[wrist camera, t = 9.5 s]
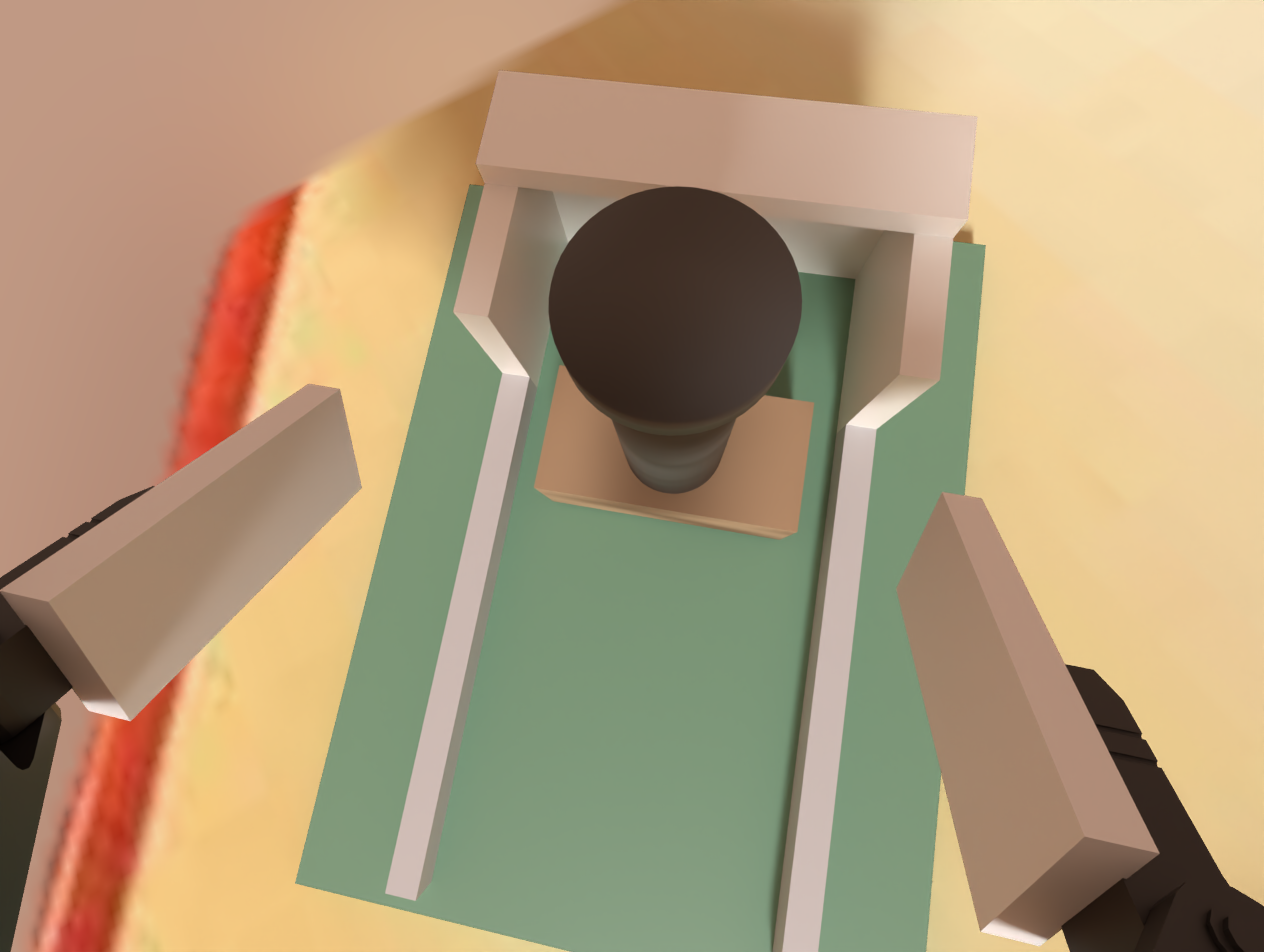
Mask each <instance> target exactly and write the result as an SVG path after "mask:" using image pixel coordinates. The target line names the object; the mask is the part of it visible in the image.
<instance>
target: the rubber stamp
mask: <svg viewBox="0 0 1264 952" xmlns="http://www.w3.org/2000/svg"><path fill="white" fill-rule="evenodd" d="M801 313H802V291H801V283H800V278H799V274H798V270H797V267H796V265H795V262H794V259H793V257H792V255H791V253H790V251H789V249H788V247H787V245H786V244H785V242H784V241H783V239H782V238H781V236H780V235H779V234H778V232H777V231H776V230H775V229H774V228H773V227H772V226H771V225H770V224H769V223H768V222H767V221H766V220H765V219H764V218H763V217H762V216H761V215H759V214H758V213H757V212H756V211H754V210H753V209H752V208H750V207H748V206H747V205H745V204H743V203H742V202H740V201H738V200H736V199H733V198H731V197H729V196H727V195H724V194H721V193H718V192H714V191H711V190H707V189H701V188H695V187H681V186H674V187H660V188H655V189H649V190H645V191H641V192H638V193H635V194H632V195H629V196H627V197H624V198H622V199H620V200H618V201H615V202H614V203H612V204H610V205H609V206H607V207H605V208H603V209H602V210H601V211H599V212H598V213H597V214H595V215H594V216H593V217H591V218H590V219H589V220H588V221H587V222H586V223H585V224H584V225H583V226H582V227H581V228H580V229H579V230H578V231H577V232H576V234H575V235H574V236H573V237H572V239H571V240H570V241H569V243H568V244H567V246H566V248H565V249H564V251H563V253H562V254H561V256H560V259H559V261H558V263H557V265H556V268H555V270H554V274H553V277H552V281H551V285H550V292H549V309H548V314H549V321H550V329H551V332H552V336H553V339H554V343H555V345H556V348H557V350H558V352H559V355H560V357H561V359H562V361H563V363H564V365H565V366H562V365H559V370H558V375H557V379H556V384H555V389H554V394H553V398H552V403H551V408H550V413H549V418H548V422H547V427H546V432H545V437H544V441H543V446H542V451H541V456H540V461H539V465H538V470H537V475H536V480H535V484H534V488H535V489H537V490H538V491H539V492H541V493H542V494H544V495H545V496H546V497H548V498H549V499H551V500H552V501H555V502H560V503H566V504H572V505H578V506H584V507H590V508H596V509H601V510H607V511H613V512H619V513H625V514H631V515H637V516H642V517H648V518H654V519H660V520H666V521H672V522H678V523H683V524H689V525H695V526H701V527H707V528H713V529H719V530H724V531H730V532H736V533H742V534H748V535H754V536H760V537H765V538H771V539H777V540H780V539H783V538H785V537H787V536H789V535H792V534H794V533H796V532H797V531H798V523H799V515H800V508H801V500H802V492H803V485H804V477H805V470H806V462H807V454H808V447H809V439H810V432H811V424H812V416H813V409H814V402H807V401H800V400H793V399H787V398H780V397H773V396H766V395H765V394H766V393H767V391H768V390H769V389H770V387H771V386H772V385H773V383H774V382H775V380H776V378H777V377H778V375H779V373H780V371H781V369H782V367H783V365H784V363H785V361H786V359H787V357H788V355H789V353H790V351H791V349H792V347H793V344H794V342H795V339H796V336H797V333H798V330H799V325H800V320H801Z"/></svg>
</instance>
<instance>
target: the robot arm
mask: <svg viewBox="0 0 1264 952" xmlns="http://www.w3.org/2000/svg"><path fill="white" fill-rule="evenodd" d="M361 488H362V486H361V482H360V477H359V473H358V468H357V464H356V459H355V455H354V450H353V446H352V441H351V437H350V432H349V428H348V423H347V419H346V414H345V410H344V405H343V401H342V396H341V392H340V389H336V388H331V387H325V386H319V385H313V384H308V385H306V386H305V387H303V388H302V389H300V390H299V391H297V392H296V393H294V394H293V395H291V396H290V397H288V398H287V399H285V400H284V401H282V402H281V403H279V404H278V405H276V406H275V407H273V408H272V409H270V410H269V411H267V412H266V413H264V414H263V415H261V416H260V417H258V418H257V419H255V420H254V421H252V422H251V423H249V424H248V425H246V426H245V427H243V428H242V429H240V430H239V431H237V432H236V433H234V434H233V435H231V436H230V437H228V438H227V439H225V440H224V441H222V442H221V443H219V444H218V445H216V446H215V447H213V448H212V449H210V450H209V451H207V452H206V453H204V454H203V455H201V456H200V457H198V458H197V459H195V460H194V461H192V462H191V463H189V464H188V465H186V466H185V467H183V468H182V469H180V470H179V471H177V472H176V473H174V474H173V475H171V476H170V477H168V478H167V479H165V480H164V481H162V482H161V483H159V484H158V485H156V486H152V487H150V488H147V489H145V490H143V491H140V492H138V493H135V494H133V495H130V496H128V497H126V498H123V499H121V500H119V501H117V502H116V503H114V504H112V505H111V506H109V507H108V508H106V509H105V510H103V511H102V512H100V513H99V514H97V515H96V516H94V517H93V518H92V520H91V522H85V523H83V524H82V525H80V526H79V527H78V528H76V529H74V530H73V531H71V532H70V533H69V536H68V537H67V538H65V537H62V538H60V539H59V540H57V541H56V542H54V543H53V544H51V545H50V546H48V547H47V548H45V549H44V550H42V551H40V552H39V553H37V554H36V555H34V556H33V557H31V558H30V559H28V560H27V561H25V562H24V563H22V564H21V565H19V566H17V567H16V568H14V569H13V570H11V571H10V572H8V573H7V574H5V575H4V576H2V577H1V578H0V952H10V951H11V947H12V942H13V938H14V934H15V929H16V924H17V920H18V915H19V911H20V906H21V902H22V897H23V893H24V888H25V884H26V879H27V875H28V870H29V865H30V861H31V856H32V852H33V847H34V843H35V838H36V834H37V829H38V825H39V820H40V815H41V810H42V807H43V802H44V797H45V792H46V788H47V784H48V779H49V774H50V770H51V766H52V761H53V757H54V752H55V748H56V743H57V738H58V734H59V729H60V725H61V710H60V708H59V707H58V706H57V705H56V703H55V702H57V701H58V700H59V699H60V698H61V697H62V696H63V695H65V694H66V693H67V692H68V691H69V690H70V689H71V688H72V689H73V690H74V692H75V693H76V694H77V696H78V697H79V698H80V700H81V701H82V702H83V704H84V705H85V706H86V708H87V709H88V710H89V711H92V712H96V713H100V714H104V715H108V716H112V717H116V718H120V719H124V720H128V721H131V720H132V719H133V718H134V717H135V716H136V715H137V714H138V713H139V712H140V711H141V710H142V709H143V708H144V707H145V706H146V705H147V704H148V703H149V702H150V701H151V700H152V699H153V698H154V697H155V696H156V695H157V694H158V693H159V692H160V691H161V690H162V689H163V688H164V687H165V686H166V685H167V684H168V683H169V682H170V681H171V680H172V679H173V678H174V677H175V676H176V675H177V674H178V673H179V672H180V671H181V670H182V669H183V668H184V667H185V666H186V665H187V664H188V663H189V662H190V661H191V660H192V659H193V658H194V657H195V656H196V655H197V654H198V653H199V652H200V651H201V650H202V649H203V648H204V647H205V646H206V645H207V644H208V643H209V642H210V641H211V639H212V638H213V637H214V636H215V635H216V634H217V633H218V632H219V631H220V630H221V629H222V628H223V627H224V626H225V625H226V624H227V623H228V622H229V621H230V620H231V619H232V618H233V617H234V616H235V615H236V614H237V613H238V612H239V611H240V610H241V609H242V608H243V607H244V606H245V605H246V604H247V603H248V602H249V601H250V600H251V599H252V598H253V597H254V596H255V595H256V594H257V593H258V592H259V591H260V590H261V589H262V588H263V587H264V586H265V585H266V584H267V583H268V582H269V581H270V580H271V579H272V578H273V577H274V576H275V575H276V574H277V573H278V572H279V571H280V570H281V569H282V568H283V567H284V566H285V565H286V564H287V563H288V562H289V561H290V560H291V559H292V558H293V557H294V556H295V555H296V554H297V553H298V552H299V551H300V550H301V549H302V548H303V547H304V546H305V545H306V544H307V543H308V542H309V541H310V540H311V539H312V538H313V537H314V535H315V534H316V533H317V532H318V531H319V530H320V529H321V528H322V527H323V526H324V525H325V524H326V523H327V522H328V521H329V520H330V519H331V518H332V517H333V516H334V515H335V514H336V513H337V512H338V511H339V510H340V509H341V508H342V507H343V506H344V505H345V504H346V503H347V502H348V501H349V500H350V499H351V498H352V497H353V496H354V495H355V494H356V493H357V492H358V491H359V490H360V489H361ZM896 591H897V595H898V599H899V603H900V607H901V611H902V615H903V619H904V623H905V627H906V631H907V635H908V639H909V643H910V647H911V652H912V656H913V660H914V664H915V668H916V672H917V676H918V680H919V684H920V688H921V692H922V696H923V700H924V704H925V708H926V713H927V717H928V721H929V725H930V729H931V733H932V737H933V741H934V745H935V749H936V753H937V757H938V761H939V765H940V769H941V773H942V778H943V782H944V786H945V790H946V794H947V798H948V802H949V806H950V810H951V814H952V818H953V822H954V826H955V830H956V834H957V839H958V843H959V847H960V851H961V855H962V859H963V863H964V867H965V871H966V875H967V879H968V883H969V887H970V891H971V895H972V899H973V904H974V908H975V912H976V916H977V920H978V924H979V928H980V932H984V933H988V934H992V935H996V936H1000V937H1004V938H1008V939H1012V940H1016V941H1020V942H1024V943H1028V944H1032V945H1036V946H1041V945H1042V944H1043V943H1044V942H1046V941H1047V940H1048V939H1050V938H1051V937H1052V936H1054V935H1055V934H1056V933H1057V932H1059V931H1060V930H1061V929H1062V930H1063V933H1064V936H1065V939H1066V942H1067V944H1068V947H1069V950H1070V952H1264V906H1262V905H1261V904H1260V903H1258V902H1256V901H1255V900H1253V899H1251V898H1250V897H1248V896H1246V895H1245V894H1243V893H1241V892H1240V891H1238V890H1236V889H1235V888H1233V887H1230V886H1229V884H1228V883H1227V881H1226V880H1225V878H1224V877H1223V876H1222V874H1221V872H1220V870H1219V869H1218V867H1217V865H1216V863H1215V862H1214V860H1213V858H1212V856H1211V854H1210V853H1209V851H1208V849H1207V847H1206V846H1205V844H1204V842H1203V840H1202V839H1201V837H1200V835H1199V833H1198V831H1197V830H1196V828H1195V826H1194V824H1193V823H1192V821H1191V819H1190V817H1189V816H1188V814H1187V812H1186V810H1185V809H1184V807H1183V805H1182V803H1181V801H1180V800H1179V798H1178V796H1177V794H1176V793H1175V791H1174V789H1173V787H1172V786H1171V784H1170V782H1169V780H1168V778H1167V777H1166V775H1165V773H1164V771H1163V770H1162V768H1159V767H1157V759H1156V757H1155V756H1154V754H1153V752H1152V750H1151V748H1150V747H1149V745H1148V743H1147V741H1146V740H1143V739H1142V738H1141V735H1142V733H1141V731H1140V729H1139V727H1138V725H1137V724H1136V722H1135V720H1134V718H1133V717H1132V715H1131V713H1130V711H1129V710H1128V708H1127V706H1126V704H1125V702H1124V701H1123V700H1122V699H1121V698H1120V697H1119V696H1118V695H1117V693H1116V692H1115V691H1114V690H1113V689H1112V688H1111V687H1110V686H1109V685H1108V684H1107V683H1106V682H1105V681H1104V680H1103V679H1102V678H1101V677H1100V676H1099V675H1098V674H1097V673H1096V672H1095V671H1094V670H1092V669H1086V668H1081V667H1076V666H1071V665H1066V664H1064V662H1063V660H1062V658H1061V656H1060V654H1059V652H1058V650H1057V648H1056V646H1055V644H1054V642H1053V640H1052V638H1051V636H1050V634H1049V632H1048V630H1047V628H1046V626H1045V624H1044V622H1043V620H1042V618H1041V616H1040V614H1039V612H1038V610H1037V608H1036V606H1035V604H1034V602H1033V600H1032V598H1031V596H1030V594H1029V592H1028V590H1027V588H1026V586H1025V584H1024V582H1023V580H1022V578H1021V576H1020V574H1019V572H1018V570H1017V568H1016V566H1015V564H1014V562H1013V560H1012V558H1011V556H1010V554H1009V552H1008V550H1007V548H1006V546H1005V544H1004V542H1003V540H1002V538H1001V536H1000V534H999V532H998V530H997V528H996V526H995V524H994V522H993V520H992V518H991V516H990V514H989V512H988V510H987V508H986V506H985V504H984V502H983V500H982V499H981V498H976V497H970V496H964V495H958V494H952V493H946V492H942V493H941V495H940V497H939V499H938V501H937V504H936V506H935V508H934V510H933V512H932V514H931V516H930V518H929V520H928V523H927V525H926V527H925V529H924V531H923V533H922V535H921V537H920V540H919V542H918V544H917V546H916V548H915V550H914V552H913V554H912V556H911V559H910V561H909V563H908V565H907V567H906V569H905V571H904V573H903V576H902V578H901V580H900V582H899V584H898V586H897V588H896Z"/></svg>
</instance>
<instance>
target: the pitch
mask: <svg viewBox="0 0 1264 952" xmlns="http://www.w3.org/2000/svg"><path fill="white" fill-rule="evenodd" d="M483 188H484V186H478V185H469V189H468V193H467V197H466V201H465V205H464V209H463V213H462V217H461V221H460V225H459V229H458V233H457V237H456V241H455V245H454V249H453V253H452V257H451V261H450V265H449V269H448V273H447V277H446V281H445V285H444V289H443V293H442V297H441V301H440V305H439V309H438V313H437V317H436V321H435V325H434V329H433V333H432V337H431V341H430V345H429V349H428V353H427V357H426V361H425V365H424V369H423V373H422V377H421V381H420V385H419V390H418V394H417V398H416V402H415V406H414V410H413V414H412V418H411V422H410V426H409V430H408V434H407V438H406V442H405V446H404V450H403V454H402V458H401V462H400V466H399V470H398V474H397V478H396V482H395V486H394V490H393V494H392V498H391V502H390V506H389V510H388V514H387V518H386V522H385V526H384V530H383V534H382V538H381V542H380V546H379V550H378V554H377V558H376V562H375V566H374V570H373V574H372V578H371V582H370V586H369V590H368V594H367V598H366V602H365V606H364V610H363V614H362V618H361V622H360V626H359V630H358V634H357V638H356V642H355V646H354V650H353V654H352V658H351V662H350V666H349V670H348V674H347V678H346V682H345V686H344V690H343V694H342V698H341V702H340V706H339V710H338V714H337V718H336V722H335V726H334V730H333V734H332V738H331V742H330V746H329V750H328V754H327V758H326V762H325V766H324V770H323V774H322V778H321V782H320V786H319V790H318V794H317V798H316V802H315V806H314V810H313V814H312V818H311V822H310V826H309V830H308V834H307V838H306V842H305V846H304V850H303V854H302V858H301V862H300V866H299V870H298V874H297V878H296V882H295V883H296V884H300V885H304V886H308V887H312V888H316V889H320V890H324V891H328V892H332V893H336V894H340V895H344V896H348V897H352V898H356V899H360V900H364V901H368V902H372V903H376V904H380V905H384V906H389V907H393V908H397V909H401V910H405V911H409V912H413V913H417V914H421V915H425V916H429V917H433V918H437V919H441V920H445V921H449V922H453V923H457V924H461V925H465V926H469V927H473V928H477V929H481V930H486V931H490V932H494V933H498V934H502V935H506V936H510V937H514V938H518V939H522V940H526V941H530V942H534V943H538V944H542V945H546V946H550V947H554V948H558V949H562V950H566V951H570V952H926V945H927V934H928V922H929V910H930V898H931V886H932V874H933V862H934V851H935V839H936V827H937V815H938V803H939V791H940V779H941V769H940V765H939V761H938V757H937V753H936V749H935V745H934V741H933V737H932V733H931V729H930V725H929V721H928V717H927V713H926V708H925V704H924V700H923V696H922V692H921V688H920V684H919V680H918V676H917V672H916V668H915V664H914V660H913V656H912V652H911V647H910V643H909V639H908V635H907V631H906V627H905V623H904V619H903V615H902V611H901V607H900V603H899V599H898V595H897V591H896V588H897V586H898V584H899V582H900V580H901V578H902V576H903V573H904V571H905V569H906V567H907V565H908V563H909V561H910V559H911V556H912V554H913V552H914V550H915V548H916V546H917V544H918V542H919V540H920V537H921V535H922V533H923V531H924V529H925V527H926V525H927V523H928V520H929V518H930V516H931V514H932V512H933V510H934V508H935V506H936V504H937V501H938V499H939V497H940V495H941V493H942V492H946V493H952V494H958V495H965V483H966V471H967V459H968V447H969V436H970V424H971V412H972V400H973V388H974V376H975V365H976V353H977V341H978V329H979V317H980V305H981V293H982V282H983V270H984V258H985V246H986V245H980V244H971V243H963V242H954V241H953V247H952V257H951V268H950V279H949V289H948V300H947V310H946V321H945V331H944V342H943V353H942V363H941V374H940V380H939V381H938V382H937V383H936V384H934V385H933V386H932V387H930V388H929V389H928V390H927V391H925V392H924V393H923V394H921V395H920V396H919V397H917V398H916V399H915V400H914V401H912V402H911V403H910V404H908V405H907V406H906V407H905V408H903V409H902V410H901V411H899V412H898V413H897V414H895V415H894V416H893V417H892V418H890V419H889V420H888V421H886V422H885V423H884V424H883V425H881V426H880V427H879V428H877V429H873V428H866V427H859V426H853V425H845V426H844V427H843V428H842V429H841V430H840V431H839V432H838V433H837V425H838V417H839V409H840V401H841V393H842V385H843V377H844V369H845V360H846V352H847V344H848V336H849V328H850V320H851V312H852V304H853V296H854V288H855V280H856V279H851V278H843V277H835V276H827V275H820V274H812V273H804V272H798V274H799V278H800V283H801V291H802V313H801V320H800V325H799V330H798V333H797V336H796V339H795V342H794V344H793V347H792V349H791V351H790V353H789V355H788V357H787V359H786V361H785V363H784V365H783V367H782V369H781V371H780V373H779V375H778V377H777V378H776V380H775V382H774V383H773V385H772V386H771V387H770V389H769V390H768V391H767V393H766V394H765V395H766V396H773V397H780V398H787V399H793V400H800V401H807V402H814V409H813V416H812V424H811V432H810V439H809V447H808V454H807V462H806V470H805V477H804V485H803V492H802V500H801V508H800V515H799V523H798V531H797V532H796V533H794V534H792V535H789V536H787V537H785V538H783V539H780V540H777V539H771V538H765V537H760V536H754V535H748V534H742V533H736V532H730V531H724V530H719V529H713V528H707V527H701V526H695V525H689V524H683V523H678V522H672V521H666V520H660V519H654V518H648V517H642V516H637V515H631V514H625V513H619V512H613V511H607V510H601V509H596V508H590V507H584V506H578V505H572V504H566V503H560V502H555V501H552V500H551V499H549V498H548V497H546V496H545V495H544V494H542V493H541V492H539V491H538V490H537V489H535V488H534V484H535V480H536V475H537V470H538V465H539V461H540V456H541V451H542V446H543V441H544V437H545V432H546V427H547V422H548V418H549V413H550V408H551V403H552V398H553V394H554V389H555V384H556V379H557V375H558V370H559V365H562V366H565V365H564V363H563V361H562V359H561V357H560V355H559V352H558V350H557V348H556V345H555V343H554V339H553V336H552V332H551V329H550V331H549V336H548V340H547V345H546V350H545V354H544V359H543V364H542V368H541V373H540V378H539V382H538V387H536V386H535V384H534V383H533V381H532V380H531V378H530V377H526V376H519V375H512V374H506V373H502V372H501V371H500V369H499V368H498V367H497V366H496V364H495V363H494V362H493V361H492V359H491V358H490V357H489V356H488V354H487V353H486V352H485V351H484V350H483V348H482V347H481V346H480V345H479V343H478V342H477V341H476V340H475V338H474V337H473V336H472V335H471V333H470V332H469V331H468V330H467V328H466V327H465V326H464V325H463V323H462V322H461V321H460V320H459V318H458V317H457V316H456V315H455V314H454V312H453V310H454V306H455V302H456V298H457V294H458V290H459V286H460V282H461V278H462V274H463V270H464V266H465V261H466V257H467V253H468V249H469V245H470V241H471V237H472V233H473V229H474V225H475V221H476V217H477V212H478V208H479V204H480V200H481V196H482V192H483ZM836 433H837V434H836Z"/></svg>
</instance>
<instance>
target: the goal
mask: <svg viewBox="0 0 1264 952" xmlns="http://www.w3.org/2000/svg"><path fill="white" fill-rule="evenodd" d="M976 126H977V117H976V116H966V115H956V114H945V113H935V112H925V111H915V110H904V109H894V108H884V107H873V106H863V105H853V104H843V103H832V102H822V101H812V100H801V99H791V98H781V97H771V96H760V95H750V94H740V93H729V92H719V91H709V90H699V89H688V88H678V87H668V86H657V85H647V84H637V83H627V82H616V81H606V80H596V79H585V78H575V77H565V76H555V75H544V74H534V73H524V72H513V71H503V70H499V72H498V76H497V80H496V84H495V88H494V92H493V96H492V100H491V104H490V108H489V112H488V116H487V120H486V124H485V128H484V132H483V136H482V140H481V144H480V148H479V152H478V156H477V160H476V166H477V168H478V170H479V172H480V174H481V176H482V179H483V181H484V183H485V184H484V188H483V192H482V196H481V200H480V204H479V208H478V212H477V217H476V221H475V225H474V229H473V233H472V237H471V241H470V245H469V249H468V253H467V257H466V261H465V266H464V270H463V274H462V278H461V282H460V286H459V290H458V294H457V298H456V302H455V306H454V310H453V312H454V314H455V315H456V316H457V317H458V318H459V320H460V321H461V322H462V323H463V325H464V326H465V327H466V328H467V330H468V331H469V332H470V333H471V335H472V336H473V337H474V338H475V340H476V341H477V342H478V343H479V345H480V346H481V347H482V348H483V350H484V351H485V352H486V353H487V354H488V356H489V357H490V358H491V359H492V361H493V362H494V363H495V364H496V366H497V367H498V368H499V369H500V371H501V372H502V373H506V374H512V375H519V376H526V377H530V378H531V380H532V381H533V383H534V384H535V386H536V387H538V382H539V378H540V373H541V368H542V364H543V359H544V354H545V350H546V345H547V340H548V336H549V331H550V321H549V314H548V309H549V292H550V285H551V281H552V277H553V274H554V270H555V268H556V265H557V263H558V261H559V259H560V256H561V254H562V253H563V251H564V249H565V248H566V246H567V244H568V243H569V241H570V240H571V239H572V237H573V236H574V235H575V234H576V232H577V231H578V230H579V229H580V228H581V227H582V226H583V225H584V224H585V223H586V222H587V221H588V220H589V219H590V218H591V217H593V216H594V215H595V214H597V213H598V212H599V211H601V210H602V209H603V208H605V207H607V206H609V205H610V204H612V203H614V202H615V201H618V200H620V199H622V198H624V197H627V196H629V195H632V194H635V193H638V192H641V191H645V190H649V189H655V188H660V187H674V186H681V187H695V188H701V189H707V190H711V191H714V192H718V193H721V194H724V195H727V196H729V197H731V198H733V199H736V200H738V201H740V202H742V203H743V204H745V205H747V206H748V207H750V208H752V209H753V210H754V211H756V212H757V213H758V214H759V215H761V216H762V217H763V218H764V219H765V220H766V221H767V222H768V223H769V224H770V225H771V226H772V227H773V228H774V229H775V230H776V231H777V232H778V234H779V235H780V236H781V238H782V239H783V241H784V242H785V244H786V245H787V247H788V249H789V251H790V253H791V255H792V257H793V259H794V262H795V265H796V267H797V270H798V272H804V273H812V274H820V275H827V276H835V277H843V278H851V279H856V280H855V288H854V296H853V304H852V312H851V320H850V328H849V336H848V344H847V352H846V360H845V369H844V377H843V385H842V393H841V401H840V409H839V417H838V425H837V433H838V432H839V431H840V430H841V429H842V428H843V427H844V426H845V425H853V426H859V427H866V428H873V429H877V428H879V427H880V426H881V425H883V424H884V423H885V422H886V421H888V420H889V419H890V418H892V417H893V416H894V415H895V414H897V413H898V412H899V411H901V410H902V409H903V408H905V407H906V406H907V405H908V404H910V403H911V402H912V401H914V400H915V399H916V398H917V397H919V396H920V395H921V394H923V393H924V392H925V391H927V390H928V389H929V388H930V387H932V386H933V385H934V384H936V383H937V382H938V381H939V380H940V374H941V363H942V353H943V342H944V331H945V321H946V310H947V300H948V289H949V279H950V268H951V257H952V247H953V238H954V237H955V235H956V234H957V233H958V232H959V230H960V229H961V228H962V227H963V225H964V224H965V223H966V222H967V220H968V214H969V203H970V192H971V181H972V170H973V159H974V148H975V137H976ZM837 433H836V434H837Z"/></svg>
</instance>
